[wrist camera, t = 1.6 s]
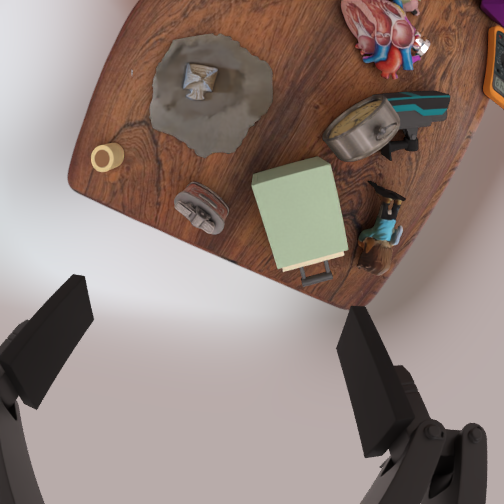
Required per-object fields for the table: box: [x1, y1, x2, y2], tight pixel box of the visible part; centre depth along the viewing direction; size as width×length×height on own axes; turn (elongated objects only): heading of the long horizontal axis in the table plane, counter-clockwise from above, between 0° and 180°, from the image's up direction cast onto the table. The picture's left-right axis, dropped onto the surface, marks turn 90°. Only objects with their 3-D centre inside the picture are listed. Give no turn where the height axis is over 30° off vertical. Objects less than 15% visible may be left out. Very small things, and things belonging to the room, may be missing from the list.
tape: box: [91, 143, 124, 172], centre depth 42 cm, size 4×4×4 cm
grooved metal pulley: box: [411, 30, 430, 57], centre depth 32 cm, size 5×3×5 cm, turn 151°
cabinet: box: [252, 156, 348, 269], centre depth 43 cm, size 13×11×9 cm
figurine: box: [357, 181, 406, 276], centre depth 45 cm, size 8×16×6 cm, turn 175°
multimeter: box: [483, 26, 504, 109], centre depth 30 cm, size 9×18×3 cm, turn 167°
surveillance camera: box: [373, 91, 450, 161], centre depth 37 cm, size 6×12×10 cm
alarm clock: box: [322, 94, 400, 162], centre depth 34 cm, size 11×5×16 cm, turn 133°
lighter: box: [174, 182, 229, 234], centre depth 42 cm, size 8×3×10 cm, turn 50°
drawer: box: [282, 251, 344, 287], centre depth 44 cm, size 16×9×7 cm, turn 17°
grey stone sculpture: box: [131, 33, 273, 158], centre depth 39 cm, size 19×22×2 cm
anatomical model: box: [341, 0, 420, 80], centre depth 31 cm, size 11×6×15 cm
